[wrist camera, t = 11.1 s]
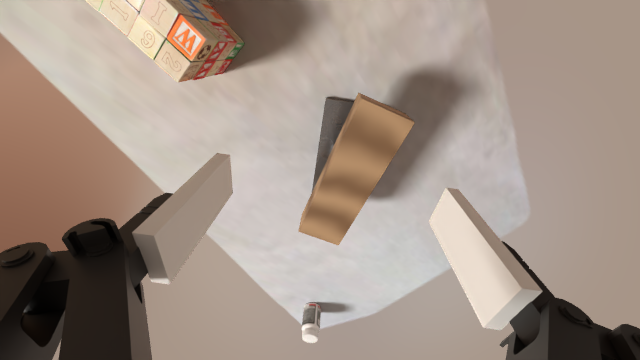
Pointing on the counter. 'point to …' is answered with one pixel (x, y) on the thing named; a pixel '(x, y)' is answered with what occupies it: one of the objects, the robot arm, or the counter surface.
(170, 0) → the stack of blocks
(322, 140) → the fulcrum
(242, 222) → the counter surface
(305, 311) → the pill bottle
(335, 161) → the board
